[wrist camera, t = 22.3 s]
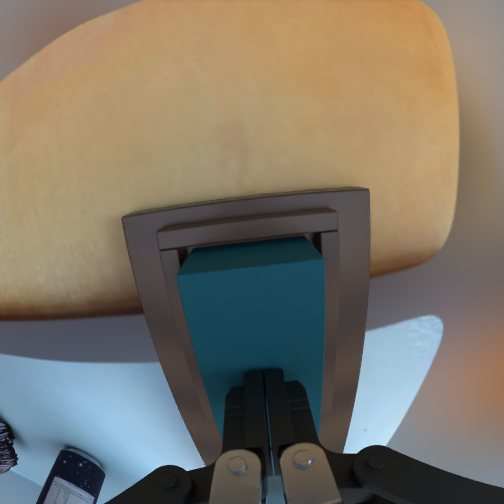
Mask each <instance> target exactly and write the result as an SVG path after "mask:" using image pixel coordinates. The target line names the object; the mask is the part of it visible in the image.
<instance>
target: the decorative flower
mask: <svg viewBox="0 0 504 504" xmlns="http://www.w3.org/2000/svg"><path fill="white" fill-rule="evenodd" d="M13 439H15V437H14V435H13V432H12V430H11V428H10V426H8V424H7V423H5V422H1V421H0V474H2V473H5V472H7V471H8V470H9V469H10V467H13V466H15V465H17V460H18V458H17V454H16V453H15V449H14V447H13V446H12V445H13Z"/></svg>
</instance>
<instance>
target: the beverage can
mask: <svg viewBox="0 0 504 504" xmlns="http://www.w3.org/2000/svg"><path fill="white" fill-rule="evenodd" d="M104 478H105V473H104V471H103V470H102V468H101V465H100V464H99V462H97V461H96V460H95V459H94V458H92V457H91V456H89V455H88V454H86V453H84V452H82V451H80V450H77V449H73V448H70V449H67V450H61V451H60V453H59V455H58V457H57V459H56V461H55V463H54V465H53V467H52V469H51V471H50V474H49V476H48V478H47V480H46V482H45V484H44V487H43V489H42V491H41V493H40V496H39V498H38V500H37V503H36V504H96V502H97V499H98V496H99V493H100V490H101V487H102V484H103V481H104Z"/></svg>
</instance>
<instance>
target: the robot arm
mask: <svg viewBox="0 0 504 504" xmlns="http://www.w3.org/2000/svg"><path fill="white" fill-rule="evenodd" d="M264 376H265V387H266V396H265V388H264V380H263V372H252V373H244V386H239V387H231V389H230V390H229V392H228V393H227V395H226V396H225V410H224V425H223V441H222V451H221V454H220V456H219V457H218V459H217V460H216V461H215V462H213V463H212V464H210V465H208V466H206V467H203V468H199V469H194V470H190V471H186V470H184V469H183V468H181V467H179V466H175V465H165V466H161V467H159V468H157V469H155V470H154V471H152V472H151V473H150V474H148V475H147V476H146V477H144V478H143V479H141V480H140V481H138V482H137V483H135V484H134V485H133V486H131V487H130V488H128V489H127V490H125V491H124V492H122V493H120V494H119V495H117V496H116V497H114V498H113V499H111V500H109V501H108V502H106V503H104V504H267V494H268V480H267V477H272V476H273V469H272V458H271V449H272V456H273V464H274V472H275V476H281V483H282V493H283V498H284V503H285V504H504V488H502V487H497V486H493V485H489V484H485V483H482V482H478V481H474V480H472V479H468V478H465V477H462V476H459V475H456V474H453V473H450V472H447V471H444V470H441V469H439V468H436V467H433V466H430V465H428V464H426V463H423V462H420V461H418V460H415V459H413V458H411V457H408V456H406V455H404V454H401V453H399V452H397V451H394V450H392V449H390V448H388V447H386V446H382V445H373V446H368V447H366V448H364V449H362V450H361V451H359V452H358V453H357V454H345V453H335V452H332V451H329V450H327V449H326V448H324V447H323V446H322V445H321V443H320V442H319V439H318V436H317V432H316V428H315V424H314V420H313V416H312V412H311V409H310V404H309V400H308V396H307V393H306V389H305V387H304V386H303V385H302V384H301V383H300V382H299V381H298V380H293V381H286V382H285V379H284V374H283V369H279V370H271V371H264ZM266 397H267V405H266ZM267 408H268V415H267ZM268 418H269V426H268ZM269 429H270V437H269ZM270 439H271V447H270Z"/></svg>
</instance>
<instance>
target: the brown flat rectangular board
mask: <svg viewBox="0 0 504 504" xmlns="http://www.w3.org/2000/svg"><path fill="white" fill-rule="evenodd" d="M122 224H123V229H124V234H125V239H126V244H127V249H128V253H129V258H130V262H131V266H132V271H133V275H134V279H135V283H136V286H137V290H138V294H139V297H140V301H141V305H142V308H143V312H144V315H145V318H146V321H147V325H148V328H149V331H150V334H151V337H152V340H153V343H154V346H155V349H156V352H157V355H158V358H159V361H160V363H161V366H162V369H163V371H164V374H165V377H166V379H167V382H168V384H169V387H170V390H171V392H172V394H173V397H174V399H175V402H176V404H177V406H178V409H179V411H180V413H181V416H182V418H183V420H184V422H185V425H186V427H187V429H188V431H189V433H190V435H191V437H192V439H193V441H194V443H195V446H196V448H197V450H198V451H199V453H200V455H201V457H202V459H203V461H204V463H205V465H206V466H208V465H210V464H212V463H213V462H215V461H216V460H217V459H218V457H219V456H220V454H221V451H222V438H221V436H220V433H219V430H218V427H217V424H216V421H215V418H214V415H213V412H212V409H211V406H210V403H209V400H208V397H207V394H206V391H205V387H204V384H203V381H202V377H201V374H200V371H199V367H198V364H197V360H196V357H195V353H194V349H193V346H192V342H191V338H190V334H189V330H188V326H187V322H186V318H185V314H184V310H183V306H182V302H181V297H180V293H179V289H178V284H177V279H176V275H177V273H178V272H179V270H180V268H181V267H182V265H183V263H184V262H185V260H186V259H187V257H188V256H189V254H190V252H191V251H192V249H194V248H201V247H209V246H218V245H226V244H235V243H244V242H253V241H261V240H270V239H279V238H288V237H298V236H305V237H306V238H307V239H308V240H309V242H310V243H311V244H312V245H313V246H314V247H315V248H316V250H317V251H318V252H319V253H320V254H321V255H322V256H323V258H324V259H325V292H326V309H325V354H324V375H323V392H322V405H321V417H320V428H319V438H318V439H319V442H320V443H321V445H322V446H323V447H324V448H326V449H327V450H329V451H332V452H335V453H343V450H344V446H345V442H346V438H347V434H348V430H349V426H350V421H351V417H352V412H353V407H354V402H355V397H356V392H357V386H358V380H359V374H360V367H361V361H362V353H363V346H364V337H365V328H366V318H367V307H368V293H369V274H370V194H369V189H367V188H362V187H348V188H332V189H317V190H304V191H293V192H281V193H271V194H261V195H252V196H243V197H234V198H226V199H218V200H211V201H203V202H196V203H189V204H182V205H175V206H169V207H163V208H156V209H150V210H144V211H139V212H133V213H130V214H127V215H125V216H123V217H122ZM271 458H272V469H273V476H272V477H267V480H268V494H267V504H285V503H284V498H283V493H282V483H281V476H275V472H274V464H273V456H272V449H271Z"/></svg>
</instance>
